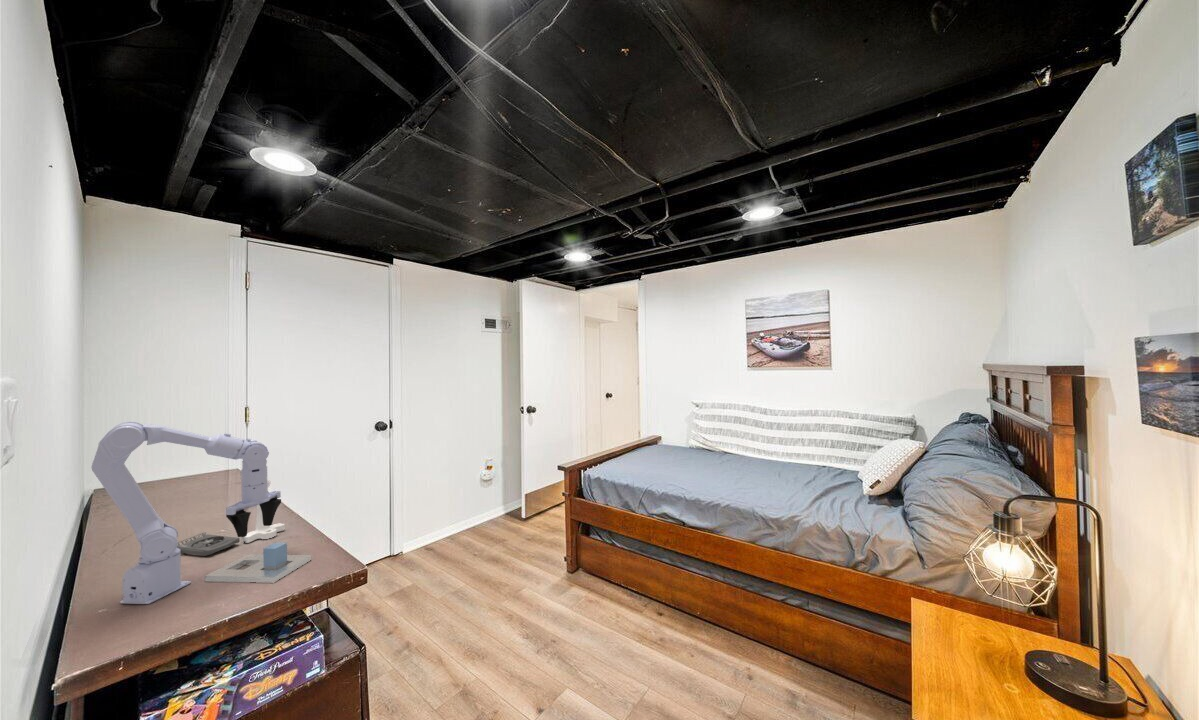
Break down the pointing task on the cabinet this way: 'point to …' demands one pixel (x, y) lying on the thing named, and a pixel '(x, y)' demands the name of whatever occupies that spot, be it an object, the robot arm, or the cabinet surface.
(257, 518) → the joystick
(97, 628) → the cabinet surface
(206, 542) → the graphics card
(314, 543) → the cabinet surface
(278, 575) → the panel
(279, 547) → the plug
